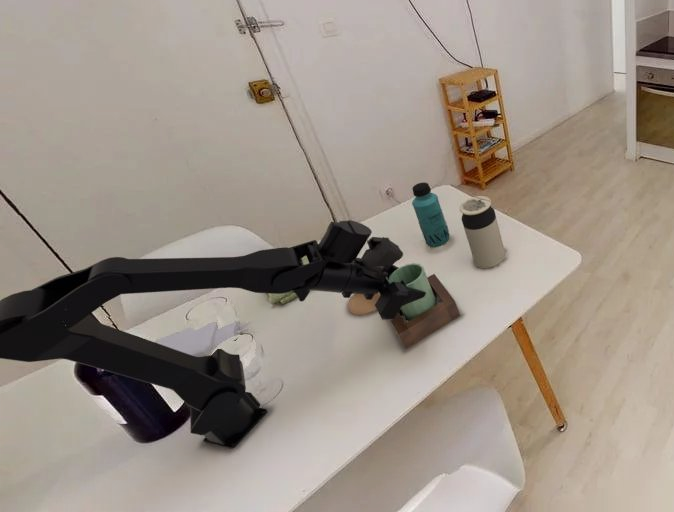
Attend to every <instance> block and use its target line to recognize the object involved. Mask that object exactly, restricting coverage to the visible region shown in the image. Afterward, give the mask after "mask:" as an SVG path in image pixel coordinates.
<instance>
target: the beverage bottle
mask: <svg viewBox="0 0 674 512" xmlns="http://www.w3.org/2000/svg"><path fill="white" fill-rule="evenodd" d="M411 189H412V194H413V196H414V198H413V200H412V202H411V205H412V207H413V210H414V213H415V215H416V218H417V222H418V225H419V227H420V231H421V234H422V236H423V238H424V242H425V244H426V246H427V247H429V248H433V249H436V248H441V247H443V246H445V245H446V244H448V242H449V241H450V240H451V239H450V238H451V234H450V229H449V227H448V223H447V222H446V219H445V215H444V212H443V209H442V207H441V204H440V201H439V196H438V195H437V194H436V193H434V192H431V191H432V189H431V187H430V185H429V183H428V182H424V181H423V182H419V183H416V184H414V185H413V187H412V188H411Z"/></svg>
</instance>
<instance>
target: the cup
mask: <svg viewBox="0 0 674 512" xmlns="http://www.w3.org/2000/svg"><path fill="white" fill-rule="evenodd" d="M427 277H428V276H427V273H426V271H425V268H424V266H423V265H422V264H420V263H414V262H413V263H407V264H405V265H402V266H400V267H399V268H398V269H397V270H395V271H394V272H393V273H392V274H391V275H390V277H389V281H390V283H392V282H400V283H401V281H402V280H403V281H404V283H405V284H406V286H407V287H409V288H413V289H417V290H421V291H424V292H426V295H425V296H424V297H423V298H421V299H418V300H416V301H413V302H411V303H408V304H406V305H404V306H402V307H401V308H400V309H401V311H402V313H403V315H402V316H403V318H404V320H406V321H407V322H408V321H410V320H412V319H413V318H415V317H417V316H418V315H420V314H422V313H424V312H425V311H427V310H429V309H430V308H432V307H434V306H436V305H437V304H438V301H437V299H436V298H435V296H434V294H433V291H432V289H431V286H430V283H429V281H428V278H427Z"/></svg>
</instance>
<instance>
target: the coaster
mask: <svg viewBox="0 0 674 512" xmlns="http://www.w3.org/2000/svg"><path fill="white" fill-rule="evenodd" d="M379 297H380V293H379V294H374V296H373V298H372V299H371V300H367V299H366V298H365V296H364V295H360V294H352V296H351V297H350V298H349V299H350V300H349V302H348V310H349V311H350V312H351V314H353V315H357V316H364V315H369V314H372V313H374V312H378V311H377V309H376V307H375V304H376V302H377V300H378V299H379Z"/></svg>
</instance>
